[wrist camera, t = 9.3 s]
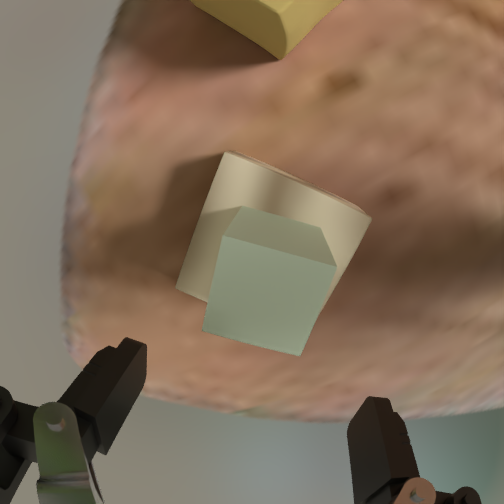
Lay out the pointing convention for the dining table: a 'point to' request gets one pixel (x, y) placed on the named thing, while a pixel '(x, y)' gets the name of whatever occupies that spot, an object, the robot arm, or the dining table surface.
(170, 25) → the dining table surface
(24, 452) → the robot arm
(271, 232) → the block
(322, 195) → the birch box
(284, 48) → the cheese
